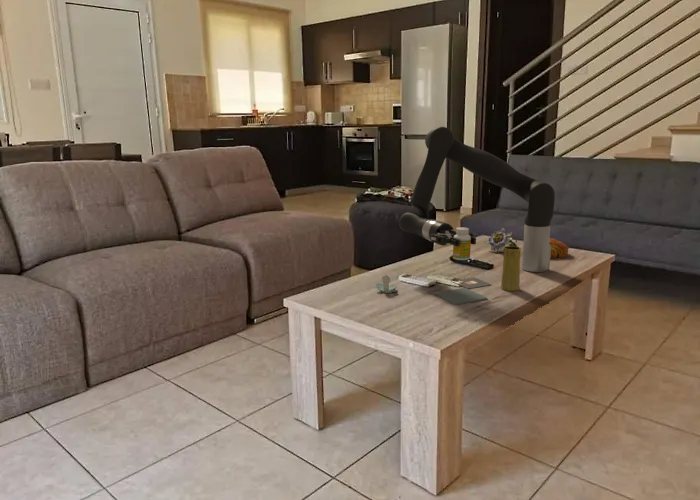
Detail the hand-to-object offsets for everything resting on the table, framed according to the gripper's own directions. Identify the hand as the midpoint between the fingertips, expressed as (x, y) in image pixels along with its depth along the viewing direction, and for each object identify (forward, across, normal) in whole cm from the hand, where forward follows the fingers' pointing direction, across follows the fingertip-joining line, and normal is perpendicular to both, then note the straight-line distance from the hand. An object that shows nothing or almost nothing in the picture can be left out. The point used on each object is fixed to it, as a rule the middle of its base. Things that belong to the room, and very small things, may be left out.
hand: (466, 242), depth 170 cm
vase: (-2, +20, +19) cm, 28 cm away
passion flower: (-47, +52, +19) cm, 73 cm away
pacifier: (-19, -18, +19) cm, 32 cm away
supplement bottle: (-3, 0, +6) cm, 7 cm away
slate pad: (-2, 0, +19) cm, 19 cm away
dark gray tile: (-13, +12, +19) cm, 26 cm away
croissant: (-32, +65, +19) cm, 75 cm away
